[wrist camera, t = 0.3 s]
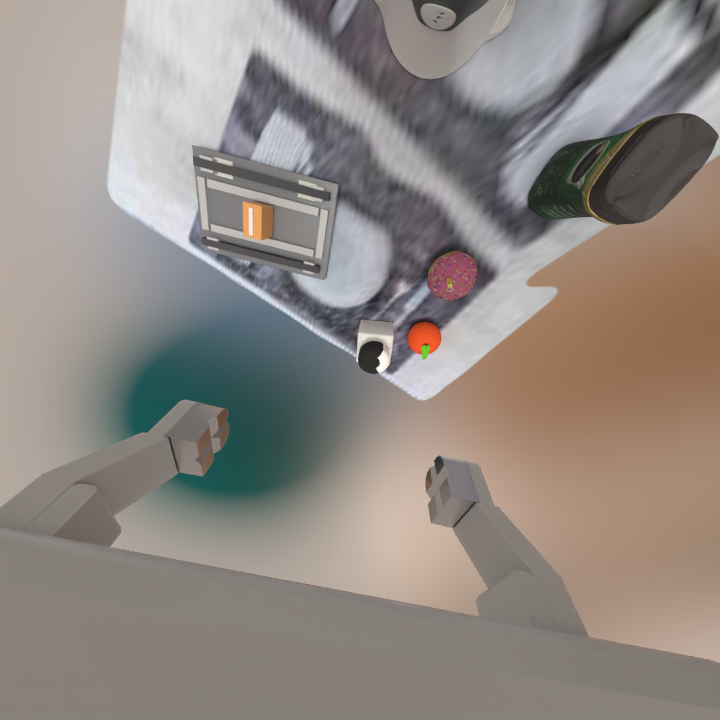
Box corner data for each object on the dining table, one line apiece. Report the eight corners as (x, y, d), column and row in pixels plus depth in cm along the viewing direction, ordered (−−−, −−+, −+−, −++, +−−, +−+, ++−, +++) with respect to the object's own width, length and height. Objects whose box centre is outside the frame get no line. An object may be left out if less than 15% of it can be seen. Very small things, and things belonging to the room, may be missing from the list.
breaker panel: (199, 147, 43) (185, 143, 39) (340, 185, 44) (336, 183, 41) (208, 248, 51) (197, 251, 48) (326, 277, 52) (322, 282, 49)
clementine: (435, 349, 59) (441, 365, 53) (405, 348, 60) (407, 365, 53) (440, 316, 55) (446, 330, 49) (407, 316, 55) (410, 330, 49)
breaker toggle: (256, 201, 44) (240, 201, 39) (273, 206, 44) (260, 206, 39) (256, 232, 47) (241, 236, 42) (272, 237, 47) (259, 240, 42)
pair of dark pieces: (197, 157, 41) (192, 155, 40) (330, 192, 42) (329, 192, 41) (205, 243, 48) (201, 244, 47) (319, 272, 49) (318, 273, 48)
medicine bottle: (358, 346, 60) (353, 376, 50) (360, 318, 56) (355, 344, 46) (388, 349, 60) (389, 379, 50) (392, 321, 56) (394, 348, 46)
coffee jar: (555, 225, 44) (649, 239, 29) (518, 203, 43) (594, 205, 27) (605, 161, 39) (751, 135, 24) (565, 134, 38) (691, 87, 22)
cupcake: (421, 291, 52) (430, 312, 42) (428, 246, 48) (440, 258, 38) (464, 293, 52) (483, 315, 42) (475, 248, 47) (500, 260, 37)
